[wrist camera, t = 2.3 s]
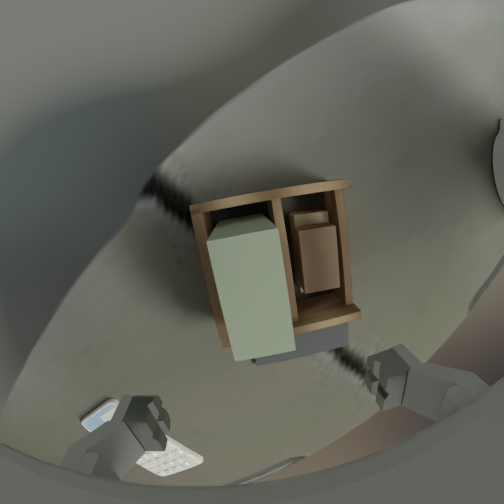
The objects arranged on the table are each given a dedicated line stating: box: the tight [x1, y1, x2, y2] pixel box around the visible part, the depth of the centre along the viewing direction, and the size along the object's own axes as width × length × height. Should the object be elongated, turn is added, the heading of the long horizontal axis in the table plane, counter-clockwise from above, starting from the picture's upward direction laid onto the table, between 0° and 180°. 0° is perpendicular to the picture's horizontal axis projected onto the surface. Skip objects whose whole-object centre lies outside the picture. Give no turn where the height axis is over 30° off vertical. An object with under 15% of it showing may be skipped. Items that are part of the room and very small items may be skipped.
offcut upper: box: [293, 222, 340, 294], centre depth 26 cm, size 4×6×2 cm, turn 9°
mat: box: [255, 322, 348, 365], centre depth 32 cm, size 12×7×1 cm, turn 100°
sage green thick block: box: [206, 213, 296, 361], centre depth 24 cm, size 4×9×12 cm, turn 10°
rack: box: [189, 179, 361, 348], centre depth 27 cm, size 14×14×6 cm
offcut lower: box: [289, 209, 329, 292], centre depth 28 cm, size 4×8×3 cm, turn 7°
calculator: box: [82, 398, 203, 476], centre depth 35 cm, size 13×20×2 cm, turn 41°
